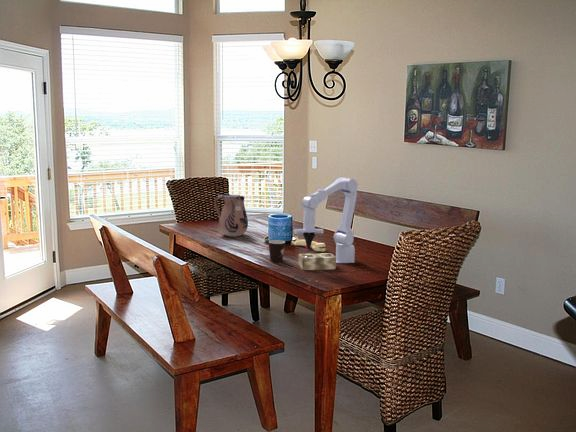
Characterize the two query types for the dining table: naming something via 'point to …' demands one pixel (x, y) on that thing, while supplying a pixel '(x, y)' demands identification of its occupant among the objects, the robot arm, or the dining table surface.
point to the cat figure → (314, 245)
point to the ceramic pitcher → (232, 215)
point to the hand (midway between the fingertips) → (308, 247)
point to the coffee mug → (276, 250)
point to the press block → (317, 261)
